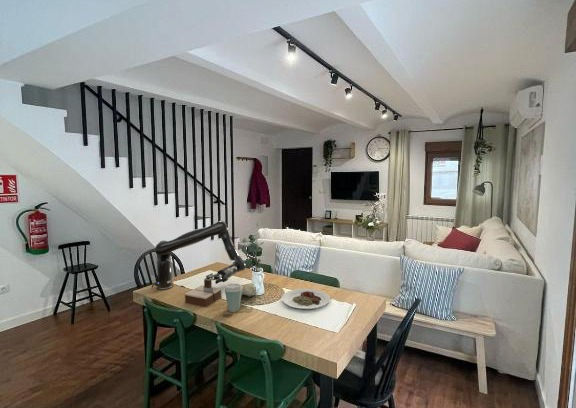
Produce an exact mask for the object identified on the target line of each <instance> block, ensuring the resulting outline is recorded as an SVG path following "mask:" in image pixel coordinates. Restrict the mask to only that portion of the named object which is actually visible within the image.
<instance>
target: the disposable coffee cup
mask: <svg viewBox="0 0 576 408" xmlns="http://www.w3.org/2000/svg"><path fill="white" fill-rule="evenodd" d="M223 289H224V293H225V294H224V295H225V297H226V298H225V299H226V305H227V310H228V312H229V313H235V312H238V311H239V310H240V308H241V300H242V295H241V294H242V290H243V289H244V287H243V285H242V284H240V283H229V284H226V286H224V288H223Z"/></svg>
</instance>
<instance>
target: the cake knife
mask: <svg viewBox="0 0 576 408" xmlns="http://www.w3.org/2000/svg"><path fill="white" fill-rule="evenodd" d="M204 279H205V278H204ZM204 279H203V286H204V287H203V290H204V292H208V293H213V288H211V287H213V285H212V280H211V278H210V279H205V280H204Z"/></svg>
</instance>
